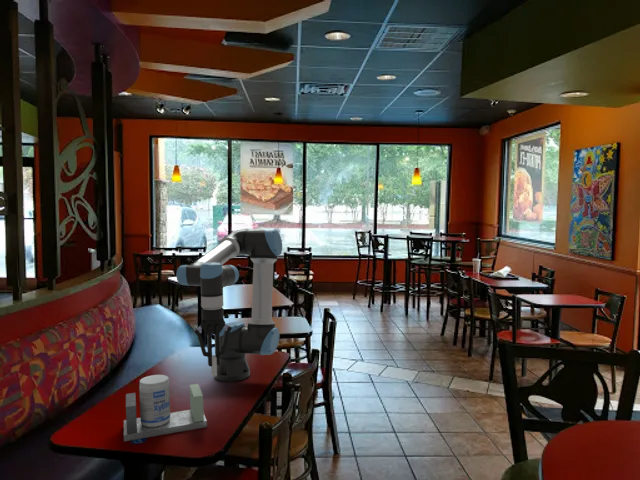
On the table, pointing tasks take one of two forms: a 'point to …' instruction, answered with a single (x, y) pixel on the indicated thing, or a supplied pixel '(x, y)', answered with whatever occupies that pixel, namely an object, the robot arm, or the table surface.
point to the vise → (138, 431)
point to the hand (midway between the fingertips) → (214, 374)
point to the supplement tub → (154, 400)
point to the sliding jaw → (196, 403)
